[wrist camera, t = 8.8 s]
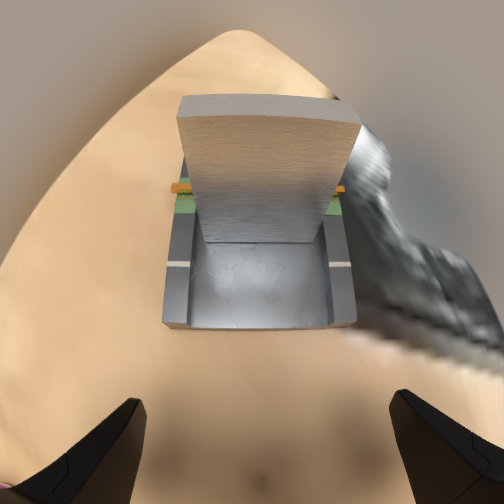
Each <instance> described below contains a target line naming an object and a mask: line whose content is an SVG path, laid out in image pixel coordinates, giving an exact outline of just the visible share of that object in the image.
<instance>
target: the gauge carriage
mask: <svg viewBox="0 0 504 504" xmlns="http://www.w3.org/2000/svg"><path fill="white" fill-rule="evenodd" d="M176 119H177V124H178V129H179V133H180V138H181V143H182V148H183V152H184V157H185V161H186V166H187V170H188V175H189V179H190V183H173V184H172V186H171V191H172V193H191V192H193V196H194V201H195V205H196V209H197V213H198V217H199V221H200V225H201V229H202V233H203V237H204V241H205V242H288V243H312V242H313V240H314V238H315V236H316V233H317V231H318V229H319V227H320V224H321V222H322V220H323V218H324V215H325V213H326V211H327V209H328V206H329V204H330V202H331V199H332V197H333V195H344V193H345V190H344V186H337V185H338V183H339V181H340V178H341V176H342V174H343V171H344V169H345V166H346V164H347V161H348V159H349V156H350V154H351V152H352V149H353V147H354V144H355V142H356V139H357V136H358V134H359V131H360V129H361V126H362V123H361V120H360V118H359V116H358V113H357V111H356V109H355V107H354V105H353V103H352V102H345V101H338V100H331V99H322V98H313V97H302V96H289V95H271V94H207V95H189V96H183V97H182V100H181V103H180V107H179V110H178V113H177V117H176Z"/></svg>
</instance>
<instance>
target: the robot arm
mask: <svg viewBox="0 0 504 504" xmlns="http://www.w3.org/2000/svg"><path fill="white" fill-rule="evenodd" d="M389 412H390V416H391V420H392V425H393V429H394V434H395V438H396V442H397V445H398V448H399V451H400V454H401V457H402V460H403V463H404V466H405V469H406V472H407V475H408V479H409V482H410V485H411V488H412V492H413V495H414V498H415V502H416V504H504V449H502V448H500V447H498V446H496V445H494V444H492V443H490V442H488V441H486V440H485V439H483V438H481V437H480V436H478V435H476V434H475V433H473V432H471V431H470V430H468V429H467V428H465V427H464V426H462V425H461V424H459V423H458V422H456V421H454V420H453V419H451V418H450V417H448V416H447V415H445V414H444V413H442V412H441V411H439V410H438V409H436V408H435V407H433V406H432V405H430V404H429V403H427V402H426V401H424V400H423V399H421V398H420V397H418V396H417V395H415V394H414V393H412V392H411V391H409V390H407V389H402V390H397V391H396V392H395V394H394V396H393V398H392V400H391V402H390V405H389ZM146 420H147V414H146V411H145V408H144V406H143V403H142V401H141V399H137V398H129V399H127V400H126V401H125V402H124V403H123V404H122V405H120V406H119V407H118V408H117V409H116V410H115V411H114V412H112V413H111V414H110V415H109V416H108V417H107V418H106V419H104V420H103V421H102V422H101V423H100V424H99V425H97V426H96V427H95V428H94V429H93V430H92V431H90V432H89V433H88V434H87V435H86V436H85V437H83V438H82V439H81V440H80V441H79V442H77V443H76V444H75V445H74V446H73V447H71V448H70V449H69V450H68V451H67V453H64V454H63V455H62V456H61V457H59V458H58V459H57V460H56V461H54V462H53V463H52V464H50V465H49V466H47V467H46V468H44V469H43V470H41V471H40V472H38V473H37V474H35V475H33V476H32V477H30V478H28V479H27V480H25V481H23V482H22V483H20V484H18V485H16V486H13V487H9V488H0V504H130V500H131V496H132V491H133V487H134V483H135V479H136V475H137V471H138V467H139V463H140V459H141V455H142V449H143V442H144V434H145V427H146Z"/></svg>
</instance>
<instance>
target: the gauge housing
mask: <svg viewBox="0 0 504 504" xmlns="http://www.w3.org/2000/svg"><path fill="white" fill-rule="evenodd" d="M179 183H190V179H189V175H188V170H187V166H186V161H185V157H184V160H183V165H182V170H181V176H180V180H179ZM356 321H357V313H356V304H355V295H354V287H353V280H352V273H351V263H350V259H349V253H348V246H347V240H346V235H345V229H344V224H343V218H342V211H341V206H340V201H339V196H338V195H333V197H332V199H331V202H330V204H329V206H328V209H327V211H326V213H325V215H324V218H323V220H322V222H321V224H320V227H319V229H318V231H317V233H316V236H315V238H314V240H313V242H312V243H288V242H205V241H204V237H203V233H202V229H201V225H200V221H199V217H198V213H197V209H196V205H195V201H194V196H193V192H191V193H177V197H176V203H175V210H174V218H173V225H172V232H171V239H170V247H169V255H168V261H167V272H166V282H165V292H164V303H163V315H162V322H163V323H164V324H165V325H167V326H168V327H169V328H170V329H190V330H227V331H268V330H305V329H326V328H342V327H347V326H349V325H351V324H352V323H354V322H356Z"/></svg>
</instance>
